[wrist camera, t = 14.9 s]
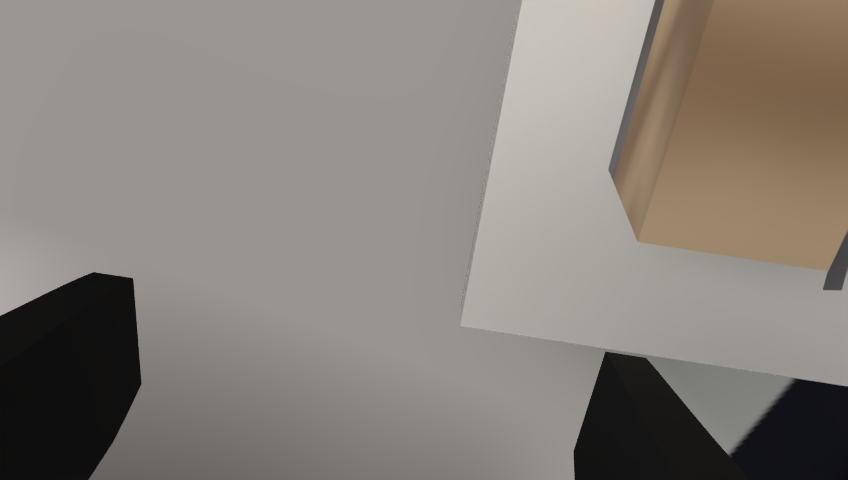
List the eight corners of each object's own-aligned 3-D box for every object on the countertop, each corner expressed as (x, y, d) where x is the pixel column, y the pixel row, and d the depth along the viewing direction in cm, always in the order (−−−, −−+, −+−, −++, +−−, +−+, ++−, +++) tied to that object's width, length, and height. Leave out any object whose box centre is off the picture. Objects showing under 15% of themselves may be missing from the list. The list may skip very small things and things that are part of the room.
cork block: (761, 192, 18) (828, 271, 15) (608, 169, 18) (637, 241, 15) (880, -108, 15) (1004, -100, 11) (692, -136, 15) (757, -138, 11)
